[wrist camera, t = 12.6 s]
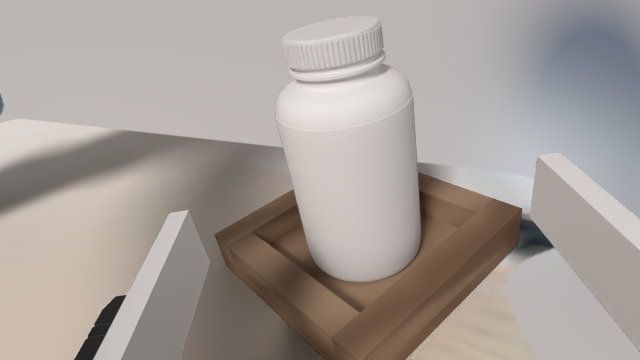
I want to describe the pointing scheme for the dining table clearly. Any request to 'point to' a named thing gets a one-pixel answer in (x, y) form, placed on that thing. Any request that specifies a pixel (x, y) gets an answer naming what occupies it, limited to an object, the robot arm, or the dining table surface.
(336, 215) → the pill bottle
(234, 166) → the dining table surface
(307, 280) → the tray
